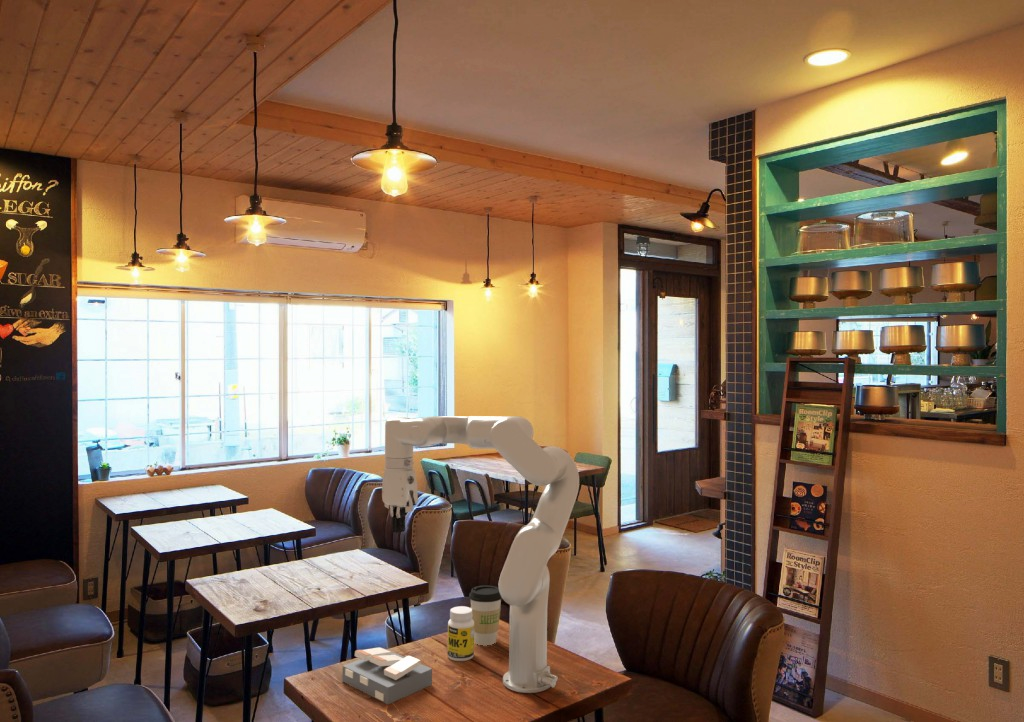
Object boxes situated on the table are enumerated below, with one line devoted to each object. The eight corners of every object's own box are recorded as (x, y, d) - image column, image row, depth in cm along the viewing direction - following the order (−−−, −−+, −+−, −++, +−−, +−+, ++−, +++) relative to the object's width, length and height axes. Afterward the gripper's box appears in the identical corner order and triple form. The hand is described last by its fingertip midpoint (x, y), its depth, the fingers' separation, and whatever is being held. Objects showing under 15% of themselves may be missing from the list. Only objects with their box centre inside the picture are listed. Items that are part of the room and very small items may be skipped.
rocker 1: (389, 656, 184) (390, 651, 184) (365, 660, 178) (365, 655, 178) (379, 651, 187) (379, 646, 187) (354, 655, 181) (355, 650, 181)
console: (432, 684, 178) (432, 664, 178) (387, 704, 167) (387, 683, 167) (386, 664, 190) (386, 645, 190) (341, 682, 179) (341, 662, 179)
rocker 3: (420, 664, 176) (420, 659, 176) (395, 680, 170) (395, 674, 170) (409, 659, 179) (408, 654, 179) (384, 674, 173) (383, 669, 173)
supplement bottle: (443, 660, 193) (444, 613, 193) (451, 650, 200) (452, 604, 200) (469, 663, 191) (470, 615, 191) (477, 652, 198) (477, 606, 198)
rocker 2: (404, 664, 180) (405, 658, 180) (380, 666, 174) (381, 660, 174) (393, 659, 183) (394, 654, 183) (369, 661, 177) (370, 655, 177)
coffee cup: (498, 650, 200) (498, 596, 200) (464, 647, 202) (464, 594, 202) (505, 636, 210) (505, 586, 210) (473, 634, 211) (473, 583, 212)
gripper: (428, 464, 190) (427, 533, 189) (392, 459, 199) (391, 525, 199) (406, 467, 184) (405, 538, 184) (370, 462, 194) (370, 529, 194)
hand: (398, 531), depth 192 cm, fingers closed
